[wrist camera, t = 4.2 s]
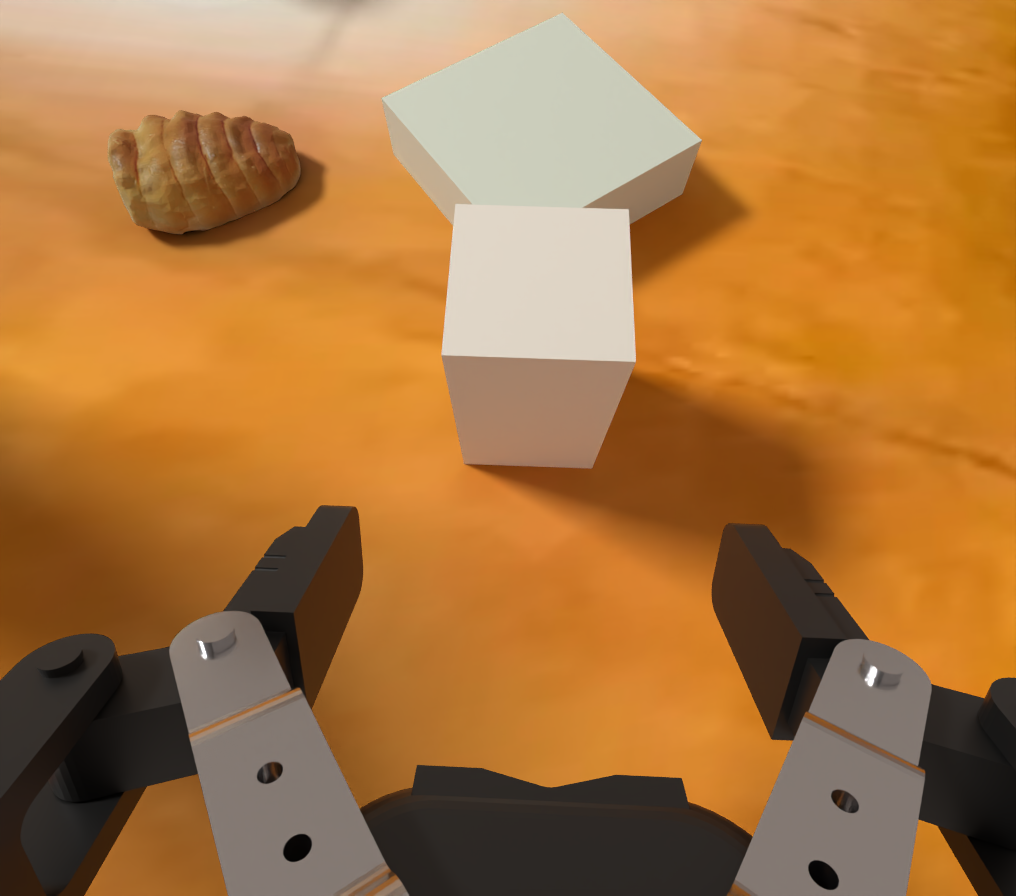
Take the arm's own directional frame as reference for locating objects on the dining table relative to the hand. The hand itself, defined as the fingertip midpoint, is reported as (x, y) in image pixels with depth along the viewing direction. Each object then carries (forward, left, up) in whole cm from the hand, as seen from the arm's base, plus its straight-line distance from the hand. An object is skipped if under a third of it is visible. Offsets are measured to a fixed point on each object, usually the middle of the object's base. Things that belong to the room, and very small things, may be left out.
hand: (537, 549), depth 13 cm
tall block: (+6, +8, -13) cm, 16 cm away
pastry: (-1, +30, -13) cm, 33 cm away
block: (+15, +20, -13) cm, 28 cm away
